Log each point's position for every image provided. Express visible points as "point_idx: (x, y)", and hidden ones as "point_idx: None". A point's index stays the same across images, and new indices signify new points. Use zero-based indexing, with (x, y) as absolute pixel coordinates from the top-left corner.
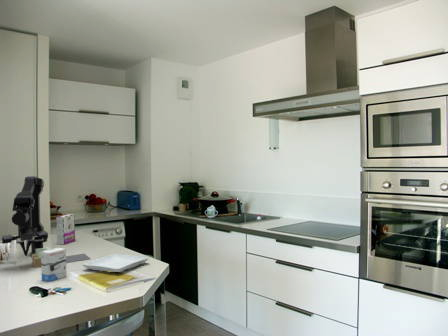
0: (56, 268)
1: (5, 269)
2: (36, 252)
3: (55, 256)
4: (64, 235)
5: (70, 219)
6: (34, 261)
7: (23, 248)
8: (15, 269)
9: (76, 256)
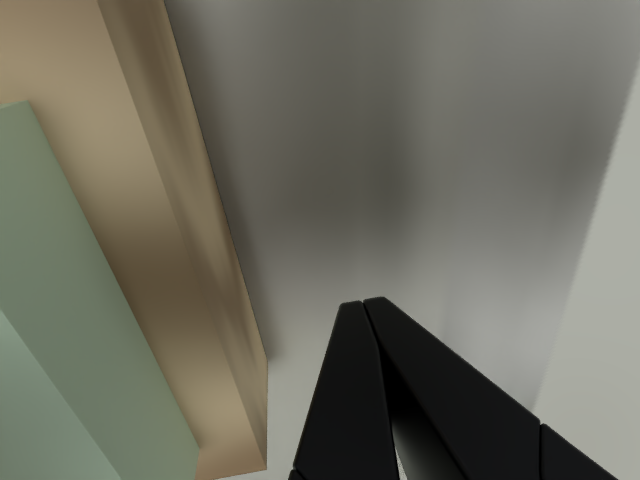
0: None
1: (600, 153)
2: (134, 415)
3: None
4: None
5: None
6: (166, 111)
7: (529, 456)
8: (488, 69)
9: None
